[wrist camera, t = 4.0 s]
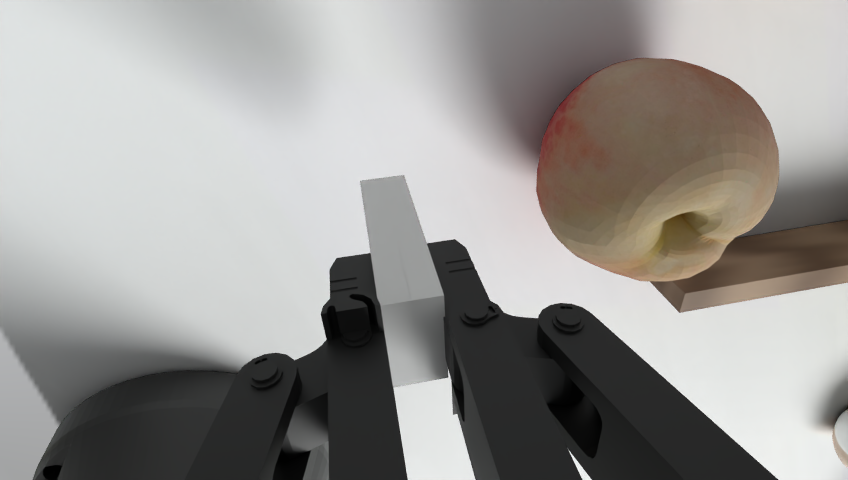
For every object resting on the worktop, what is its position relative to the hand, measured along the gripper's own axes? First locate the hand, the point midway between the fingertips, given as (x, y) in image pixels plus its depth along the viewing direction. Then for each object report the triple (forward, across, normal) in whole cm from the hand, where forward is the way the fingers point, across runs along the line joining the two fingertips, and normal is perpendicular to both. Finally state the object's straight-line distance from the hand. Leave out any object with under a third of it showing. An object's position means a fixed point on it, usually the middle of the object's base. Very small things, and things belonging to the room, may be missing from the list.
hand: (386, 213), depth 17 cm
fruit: (+5, +10, 0) cm, 11 cm away
